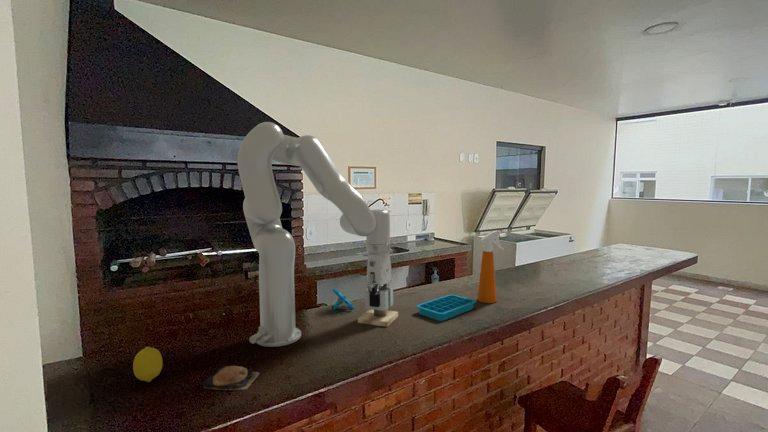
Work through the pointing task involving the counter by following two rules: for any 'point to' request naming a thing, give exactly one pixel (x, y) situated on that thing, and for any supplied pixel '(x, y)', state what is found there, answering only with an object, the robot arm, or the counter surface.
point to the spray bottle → (488, 269)
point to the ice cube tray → (446, 307)
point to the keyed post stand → (378, 317)
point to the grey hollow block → (381, 298)
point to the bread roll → (231, 378)
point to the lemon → (147, 364)
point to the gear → (341, 300)
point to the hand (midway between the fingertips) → (379, 302)
